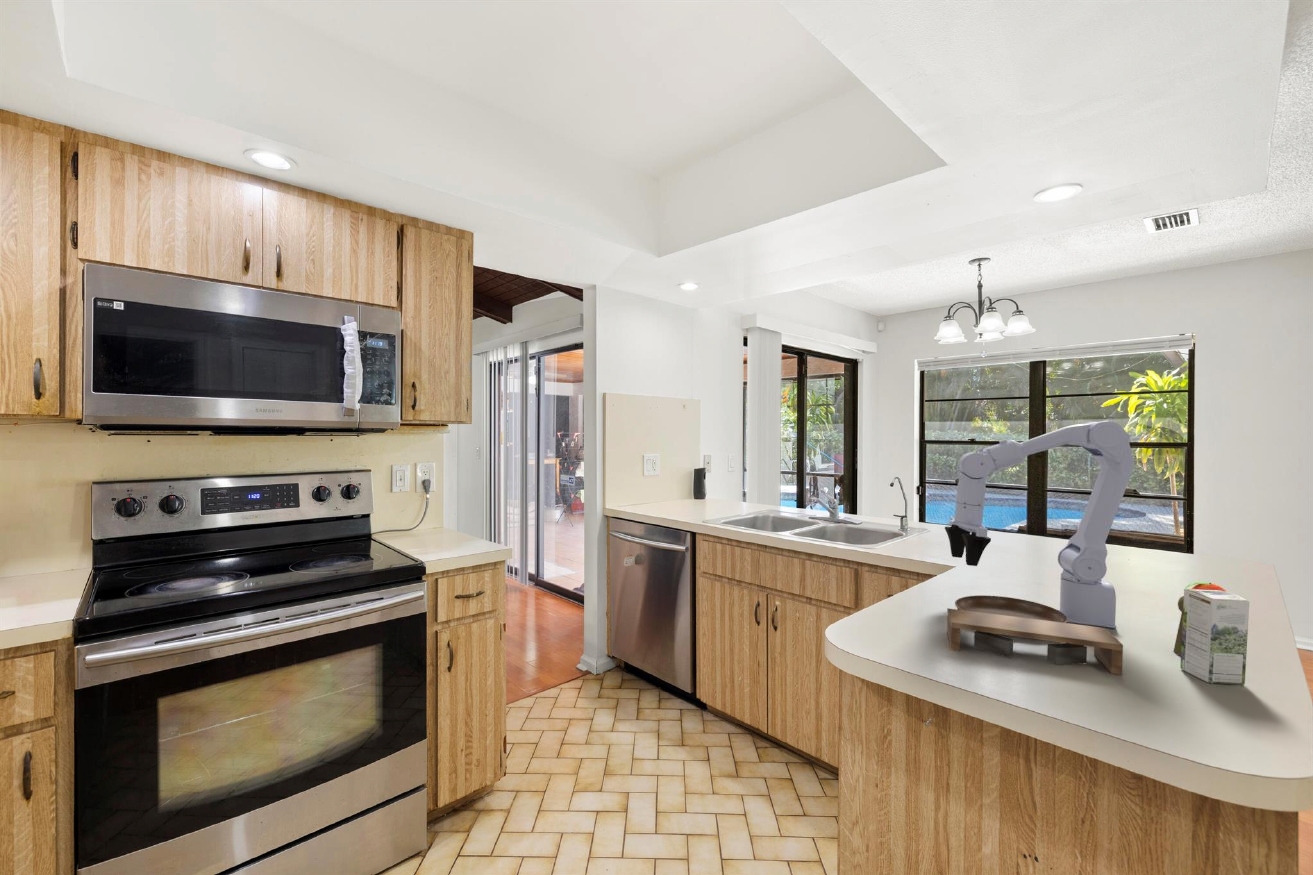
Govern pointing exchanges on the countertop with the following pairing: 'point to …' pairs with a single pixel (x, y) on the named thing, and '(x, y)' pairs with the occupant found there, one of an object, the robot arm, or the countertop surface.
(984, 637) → the walnut shelf
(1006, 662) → the countertop surface
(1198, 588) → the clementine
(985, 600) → the plant saucer
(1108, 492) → the robot arm
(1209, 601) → the syrup box
